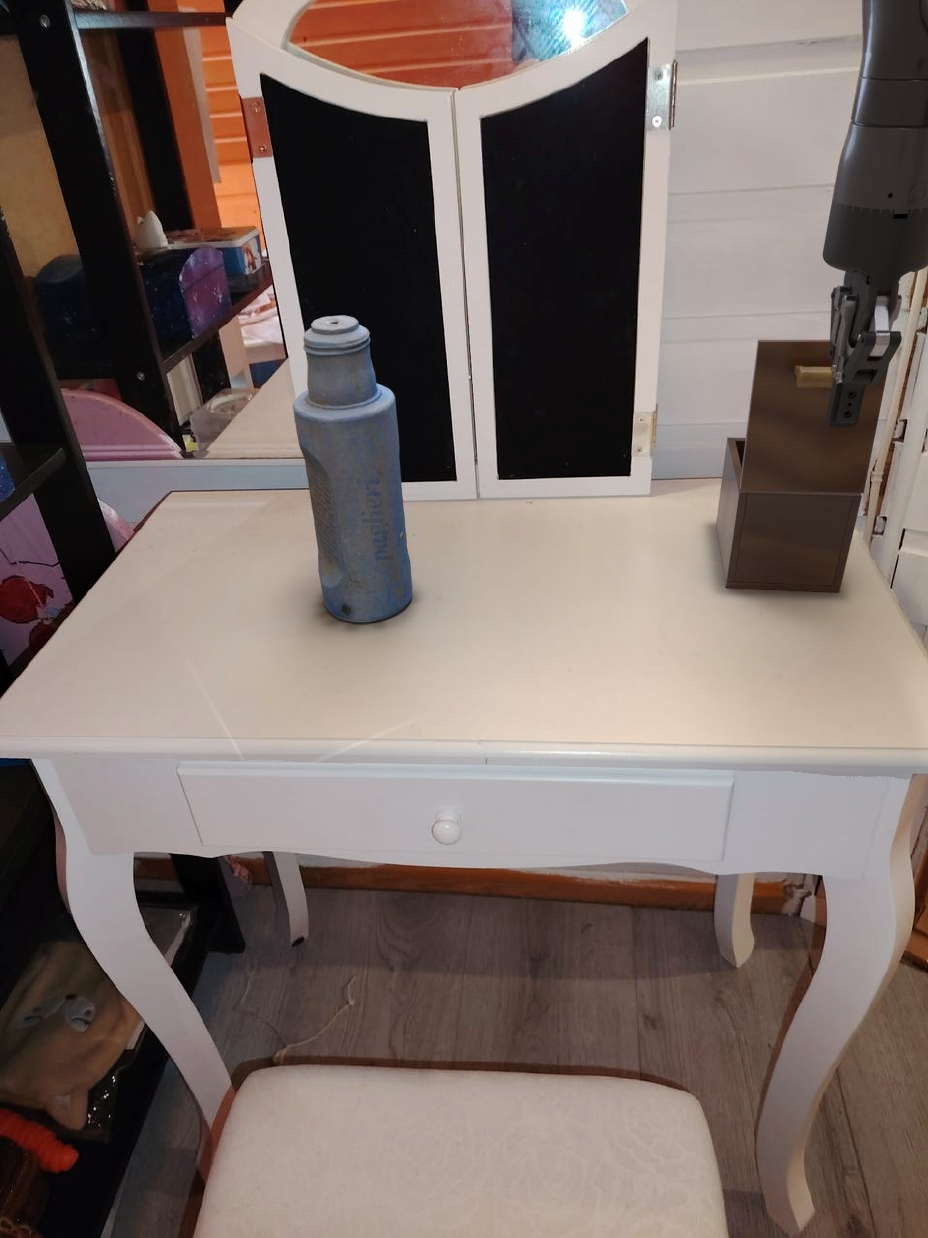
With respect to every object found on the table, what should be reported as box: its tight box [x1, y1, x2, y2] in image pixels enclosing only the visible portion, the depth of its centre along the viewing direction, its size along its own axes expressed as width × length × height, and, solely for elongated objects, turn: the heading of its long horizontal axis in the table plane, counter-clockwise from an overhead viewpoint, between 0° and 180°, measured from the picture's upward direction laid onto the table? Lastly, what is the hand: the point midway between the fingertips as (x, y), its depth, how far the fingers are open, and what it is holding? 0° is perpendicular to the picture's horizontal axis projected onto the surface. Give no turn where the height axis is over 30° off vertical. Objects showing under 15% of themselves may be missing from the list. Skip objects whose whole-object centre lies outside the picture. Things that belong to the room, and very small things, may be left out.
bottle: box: [292, 315, 413, 623], centre depth 88 cm, size 10×10×30 cm
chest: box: [715, 437, 863, 593], centre depth 96 cm, size 14×12×11 cm
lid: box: [740, 339, 890, 494], centre depth 82 cm, size 14×12×5 cm
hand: (840, 423), depth 72 cm, fingers closed
